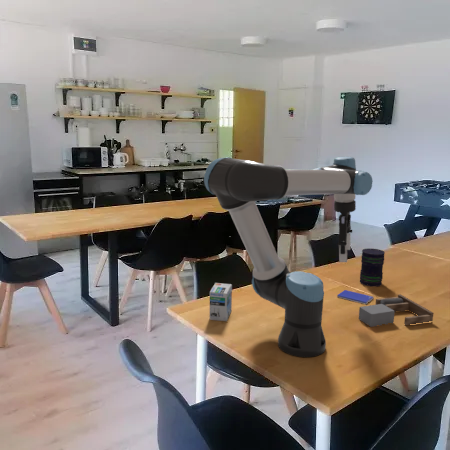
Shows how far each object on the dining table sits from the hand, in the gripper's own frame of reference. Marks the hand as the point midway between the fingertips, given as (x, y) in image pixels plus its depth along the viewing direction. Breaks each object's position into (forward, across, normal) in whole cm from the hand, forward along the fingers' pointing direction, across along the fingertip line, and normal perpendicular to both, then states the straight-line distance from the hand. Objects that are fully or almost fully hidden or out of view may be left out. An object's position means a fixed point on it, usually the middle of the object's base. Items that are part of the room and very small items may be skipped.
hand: (345, 255), depth 171 cm
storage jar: (+26, +37, -8) cm, 46 cm away
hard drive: (+25, +15, -3) cm, 29 cm away
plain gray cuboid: (+23, -6, -12) cm, 26 cm away
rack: (+24, +3, -21) cm, 32 cm away
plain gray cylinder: (+24, +8, -17) cm, 31 cm away
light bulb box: (+18, -22, +43) cm, 52 cm away
